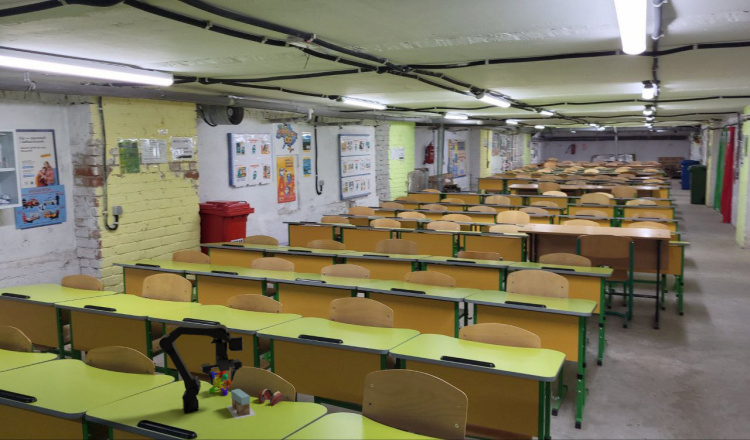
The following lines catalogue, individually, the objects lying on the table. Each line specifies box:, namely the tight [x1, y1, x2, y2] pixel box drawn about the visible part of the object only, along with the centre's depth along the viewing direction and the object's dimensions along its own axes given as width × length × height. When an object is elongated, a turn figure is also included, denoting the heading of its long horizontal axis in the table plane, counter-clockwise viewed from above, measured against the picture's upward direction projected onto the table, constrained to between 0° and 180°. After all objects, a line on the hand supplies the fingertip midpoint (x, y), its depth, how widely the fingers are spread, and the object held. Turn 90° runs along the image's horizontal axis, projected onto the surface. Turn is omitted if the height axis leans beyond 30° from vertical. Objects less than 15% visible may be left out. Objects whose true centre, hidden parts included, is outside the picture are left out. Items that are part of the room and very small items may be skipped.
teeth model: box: [257, 388, 285, 407], centre depth 292 cm, size 8×6×12 cm
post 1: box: [231, 398, 237, 410], centre depth 284 cm, size 5×5×5 cm
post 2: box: [236, 402, 251, 417], centre depth 277 cm, size 5×5×5 cm
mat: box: [225, 404, 257, 420], centre depth 281 cm, size 10×17×1 cm, turn 28°
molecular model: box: [208, 370, 234, 396], centre depth 304 cm, size 12×7×12 cm, turn 64°
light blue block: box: [230, 388, 251, 405], centre depth 280 cm, size 12×4×4 cm, turn 37°
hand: (221, 383), depth 284 cm, fingers open, 9 cm apart
